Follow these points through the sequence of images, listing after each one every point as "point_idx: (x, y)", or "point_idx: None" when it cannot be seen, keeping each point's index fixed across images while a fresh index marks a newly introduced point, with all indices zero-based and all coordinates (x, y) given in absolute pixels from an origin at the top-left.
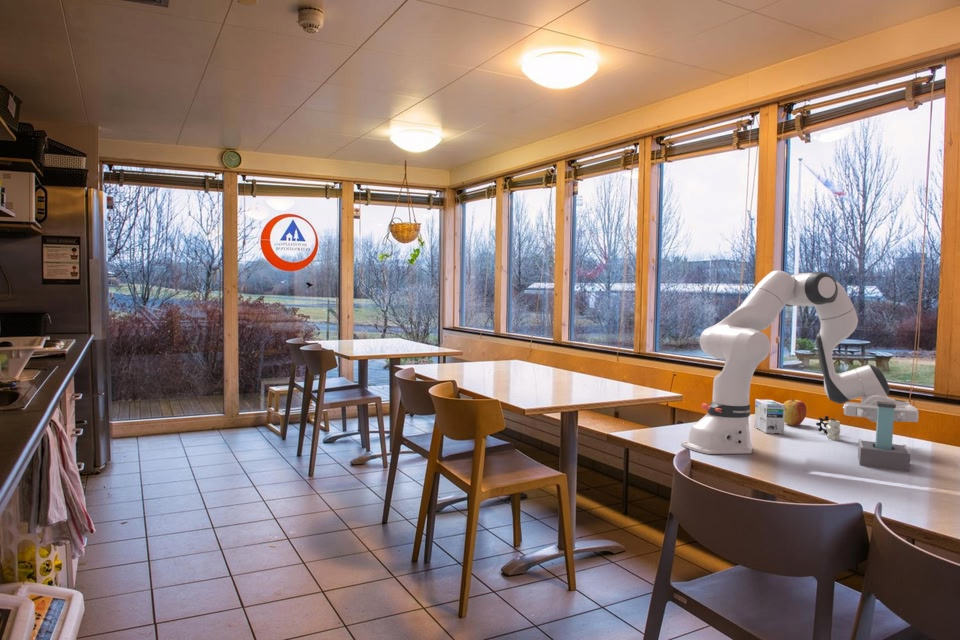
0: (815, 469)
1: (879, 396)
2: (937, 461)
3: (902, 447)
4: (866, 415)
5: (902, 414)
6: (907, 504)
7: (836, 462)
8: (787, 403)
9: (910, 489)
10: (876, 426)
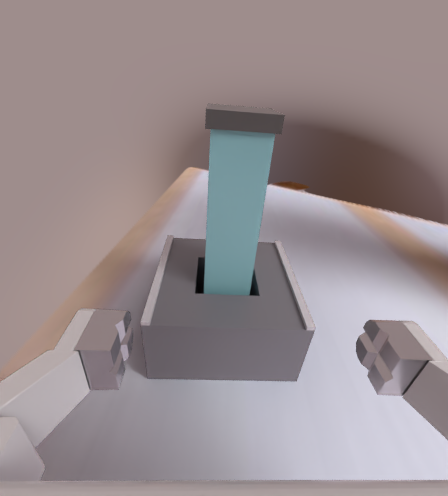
0: (336, 253)
1: None
2: None
3: (164, 292)
4: (361, 339)
5: (69, 325)
6: (207, 192)
7: (330, 313)
8: None
9: (191, 223)
10: (259, 231)
